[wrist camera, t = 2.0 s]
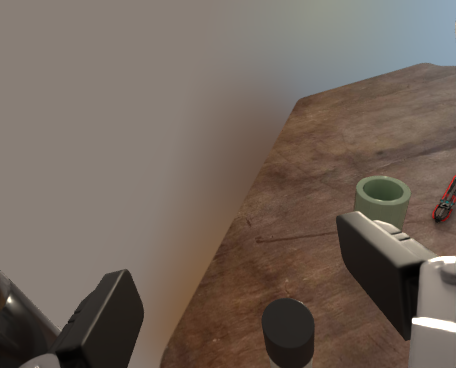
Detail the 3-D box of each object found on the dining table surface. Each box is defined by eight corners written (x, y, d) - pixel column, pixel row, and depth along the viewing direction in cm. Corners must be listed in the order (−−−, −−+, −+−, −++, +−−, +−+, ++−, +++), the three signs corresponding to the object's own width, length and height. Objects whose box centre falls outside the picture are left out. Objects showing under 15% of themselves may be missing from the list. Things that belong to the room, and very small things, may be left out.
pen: (469, 177, 47) (470, 173, 46) (444, 226, 40) (445, 223, 39) (454, 173, 48) (455, 170, 48) (428, 221, 41) (429, 217, 40)
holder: (353, 251, 39) (359, 204, 34) (348, 221, 43) (353, 175, 39) (403, 255, 37) (417, 205, 32) (392, 223, 42) (403, 175, 37)
